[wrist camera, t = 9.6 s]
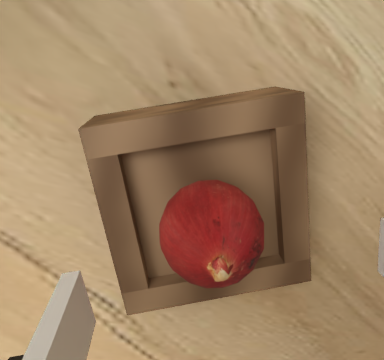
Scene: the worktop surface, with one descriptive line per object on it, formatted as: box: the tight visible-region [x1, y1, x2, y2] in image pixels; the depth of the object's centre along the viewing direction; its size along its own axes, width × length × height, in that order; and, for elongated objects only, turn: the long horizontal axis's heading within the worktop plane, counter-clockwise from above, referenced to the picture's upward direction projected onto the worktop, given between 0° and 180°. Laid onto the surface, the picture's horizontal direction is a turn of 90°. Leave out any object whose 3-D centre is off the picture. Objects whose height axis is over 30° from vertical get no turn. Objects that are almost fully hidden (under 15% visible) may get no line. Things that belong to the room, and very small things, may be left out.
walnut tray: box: [78, 87, 311, 315], centre depth 24 cm, size 13×13×5 cm
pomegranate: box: [159, 180, 264, 288], centre depth 19 cm, size 6×6×8 cm
